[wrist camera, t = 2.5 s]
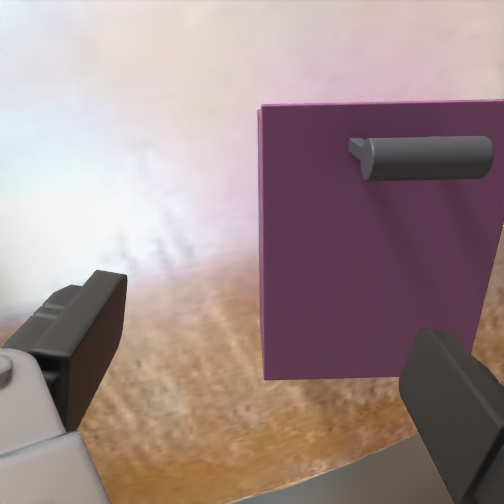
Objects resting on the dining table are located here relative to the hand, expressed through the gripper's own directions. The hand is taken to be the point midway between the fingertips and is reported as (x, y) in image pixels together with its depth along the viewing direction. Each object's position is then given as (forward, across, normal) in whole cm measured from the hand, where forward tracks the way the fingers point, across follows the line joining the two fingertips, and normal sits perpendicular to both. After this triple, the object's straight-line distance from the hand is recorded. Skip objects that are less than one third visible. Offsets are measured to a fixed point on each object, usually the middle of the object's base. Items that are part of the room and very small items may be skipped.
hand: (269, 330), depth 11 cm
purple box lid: (+13, -8, +2) cm, 15 cm away
